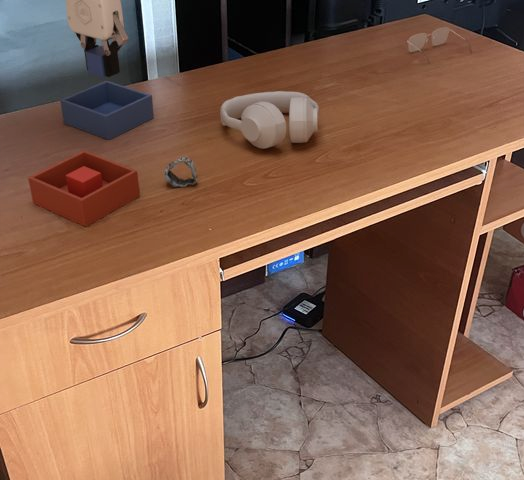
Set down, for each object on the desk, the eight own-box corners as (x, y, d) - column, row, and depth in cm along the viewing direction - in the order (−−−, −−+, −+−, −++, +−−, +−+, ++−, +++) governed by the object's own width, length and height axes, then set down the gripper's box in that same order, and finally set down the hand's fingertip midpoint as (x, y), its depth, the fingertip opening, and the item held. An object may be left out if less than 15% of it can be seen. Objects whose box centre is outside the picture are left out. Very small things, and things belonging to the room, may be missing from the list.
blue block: (88, 73, 145) (85, 51, 143) (103, 66, 148) (101, 45, 145) (103, 78, 144) (100, 56, 141) (119, 71, 146) (116, 49, 144)
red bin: (33, 203, 127) (27, 177, 124) (88, 174, 135) (84, 149, 132) (85, 226, 122) (81, 200, 119) (140, 195, 129) (137, 170, 126)
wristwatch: (183, 187, 135) (162, 167, 132) (204, 170, 132) (183, 150, 129) (181, 197, 132) (159, 178, 130) (202, 181, 130) (180, 161, 127)
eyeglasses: (448, 42, 186) (451, 25, 183) (472, 54, 182) (476, 37, 179) (404, 53, 180) (407, 36, 177) (428, 67, 176) (431, 49, 173)
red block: (69, 197, 128) (65, 175, 125) (87, 187, 130) (83, 165, 128) (86, 204, 126) (82, 182, 123) (104, 194, 128) (101, 172, 126)
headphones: (338, 144, 143) (299, 116, 159) (339, 101, 138) (298, 76, 154) (242, 159, 138) (211, 128, 154) (239, 114, 134) (208, 87, 150)
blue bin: (63, 123, 151) (59, 100, 148) (109, 102, 158) (106, 80, 155) (109, 140, 145) (106, 116, 142) (154, 118, 153) (151, 95, 150)
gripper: (39, -38, 135) (57, 67, 147) (108, -22, 128) (121, 88, 140) (71, -47, 140) (86, 56, 152) (140, -32, 132) (150, 75, 144)
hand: (103, 70), depth 146 cm, fingers closed on blue block, 4 cm apart
